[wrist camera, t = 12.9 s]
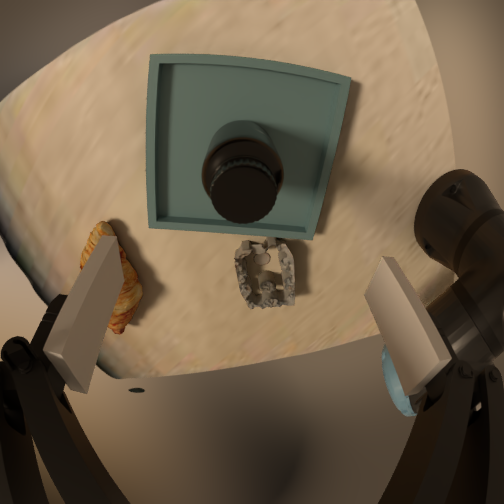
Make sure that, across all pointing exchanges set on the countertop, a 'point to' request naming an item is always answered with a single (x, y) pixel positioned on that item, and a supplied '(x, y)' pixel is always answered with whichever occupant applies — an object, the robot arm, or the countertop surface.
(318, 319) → the countertop surface
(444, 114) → the countertop surface
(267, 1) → the countertop surface
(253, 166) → the supplement bottle
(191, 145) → the tray
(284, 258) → the egg carton
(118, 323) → the croissant
